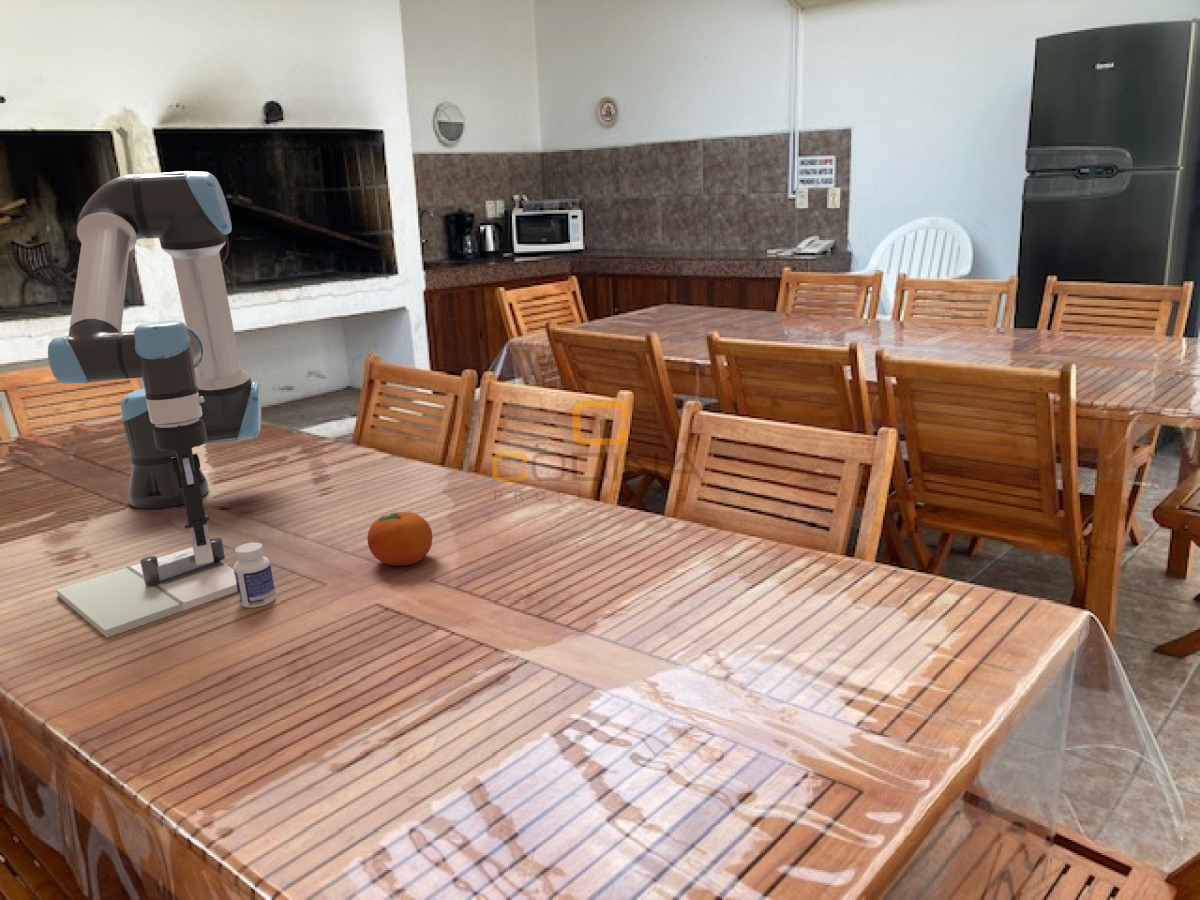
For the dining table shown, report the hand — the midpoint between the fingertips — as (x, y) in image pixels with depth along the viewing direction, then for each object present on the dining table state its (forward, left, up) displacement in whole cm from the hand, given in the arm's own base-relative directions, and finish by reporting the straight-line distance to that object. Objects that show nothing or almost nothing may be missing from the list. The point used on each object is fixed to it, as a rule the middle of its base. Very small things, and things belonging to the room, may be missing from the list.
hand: (204, 561), depth 152 cm
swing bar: (+2, -2, -1) cm, 3 cm away
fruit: (-24, +20, -3) cm, 32 cm away
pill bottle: (-1, +15, -3) cm, 16 cm away
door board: (+8, -2, -3) cm, 8 cm away
